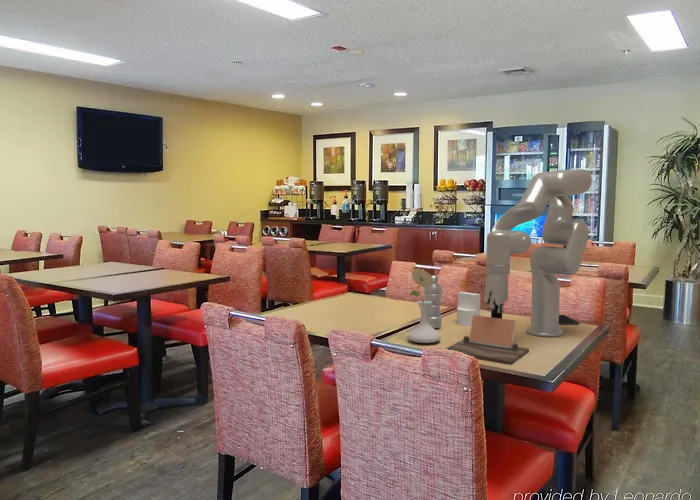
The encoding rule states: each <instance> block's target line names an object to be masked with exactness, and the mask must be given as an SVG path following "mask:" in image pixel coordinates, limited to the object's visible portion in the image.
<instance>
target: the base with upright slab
mask: <svg viewBox="0 0 700 500" xmlns="http://www.w3.org/2000/svg"><path fill="white" fill-rule="evenodd" d="M473 315H476V316H481V294H480V293H476V292H475V293H474V292H467V291H458V292H457V307H456V324H457V325H459V326H463V327H471V325H472V319H473Z"/></svg>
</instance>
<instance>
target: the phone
mask: <svg viewBox="0 0 700 500" xmlns="http://www.w3.org/2000/svg"><path fill="white" fill-rule="evenodd" d="M559 324H560V325H561V326H579V324H580V322H579V321H577V320H576V319H573V318H571V317H570V316H567V315H565V314H559ZM560 325H559V326H560Z"/></svg>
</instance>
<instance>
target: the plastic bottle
mask: <svg viewBox="0 0 700 500" xmlns="http://www.w3.org/2000/svg"><path fill="white" fill-rule="evenodd" d="M430 275H431V274H430ZM430 277H431V278H432V280H433V281H432V286H429V287H423V292H424V294H423V295H424V296H425V295H426V294H429V293H430V294H429V295H428V296H426V297H424V299H425V300H424V301H431V302H432V303H431V304H430V306H429V309H428V316H427V319H428V323H429V325H430V326H431V327H432V328H434V329H440V328H441V326H442V325H443V324H442V323H443V321H442V316H441V298H442V292H443V291H442V286H441V285H440V284H439V276H438V275H435V274H432V275H431V276H430Z"/></svg>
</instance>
